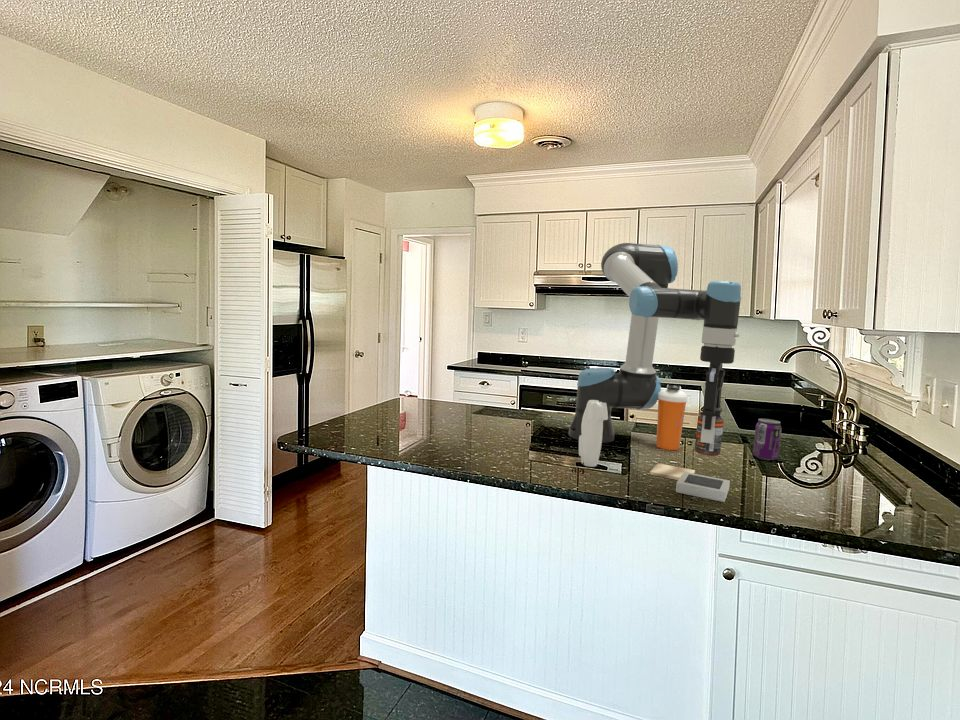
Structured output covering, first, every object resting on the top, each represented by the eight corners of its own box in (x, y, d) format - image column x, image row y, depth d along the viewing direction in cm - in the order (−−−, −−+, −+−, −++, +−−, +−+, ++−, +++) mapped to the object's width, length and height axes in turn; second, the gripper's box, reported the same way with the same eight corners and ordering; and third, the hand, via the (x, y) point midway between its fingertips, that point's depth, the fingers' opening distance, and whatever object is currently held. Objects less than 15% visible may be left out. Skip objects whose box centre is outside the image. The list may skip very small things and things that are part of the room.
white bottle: (607, 468, 153) (592, 460, 160) (613, 403, 151) (597, 398, 158) (586, 469, 151) (572, 461, 157) (592, 403, 149) (577, 398, 155)
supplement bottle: (688, 450, 139) (693, 405, 138) (707, 449, 141) (712, 405, 140) (706, 457, 133) (711, 410, 132) (725, 456, 135) (730, 410, 134)
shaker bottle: (653, 448, 177) (659, 386, 175) (652, 442, 186) (658, 383, 184) (683, 452, 175) (689, 389, 173) (680, 445, 184) (686, 385, 182)
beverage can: (780, 462, 170) (785, 424, 169) (756, 460, 171) (760, 421, 170) (773, 456, 177) (778, 419, 176) (749, 454, 178) (753, 417, 177)
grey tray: (675, 492, 136) (676, 482, 136) (683, 480, 146) (684, 471, 145) (724, 502, 131) (725, 492, 130) (729, 489, 140) (730, 480, 140)
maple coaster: (649, 474, 149) (650, 471, 149) (657, 466, 158) (657, 463, 158) (689, 482, 144) (689, 479, 144) (694, 473, 153) (695, 470, 153)
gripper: (731, 349, 124) (720, 450, 127) (738, 345, 141) (728, 435, 143) (695, 345, 128) (685, 444, 130) (706, 343, 144) (697, 430, 147)
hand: (708, 439), depth 137 cm, fingers closed on supplement bottle, 6 cm apart
